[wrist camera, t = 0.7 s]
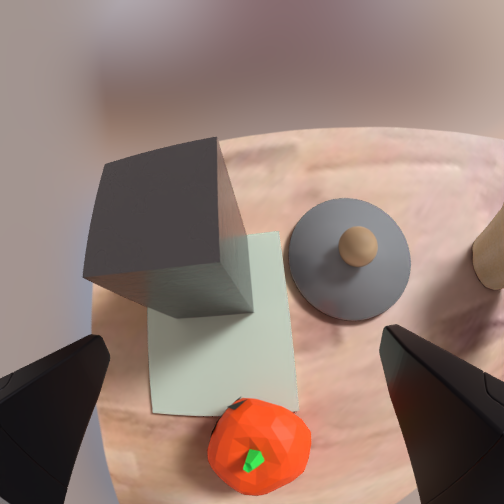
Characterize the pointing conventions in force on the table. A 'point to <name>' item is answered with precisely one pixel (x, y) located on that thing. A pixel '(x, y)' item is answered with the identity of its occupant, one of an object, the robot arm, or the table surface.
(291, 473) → the pumpkin
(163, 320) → the rubber mat
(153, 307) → the dark grey square block
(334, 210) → the slate coaster
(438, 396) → the robot arm
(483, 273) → the flower pot
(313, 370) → the table surface
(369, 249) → the cork ball
